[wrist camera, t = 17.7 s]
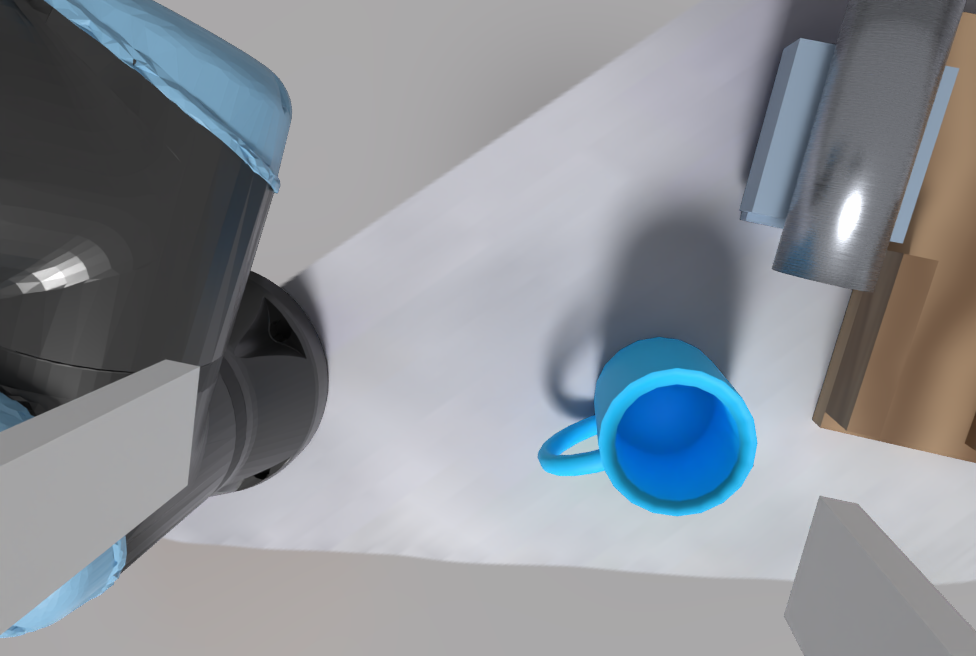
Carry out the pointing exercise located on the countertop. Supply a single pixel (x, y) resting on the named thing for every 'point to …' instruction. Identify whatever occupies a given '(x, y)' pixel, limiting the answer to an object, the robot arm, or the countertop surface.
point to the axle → (866, 139)
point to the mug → (662, 430)
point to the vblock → (792, 129)
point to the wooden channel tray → (920, 304)
